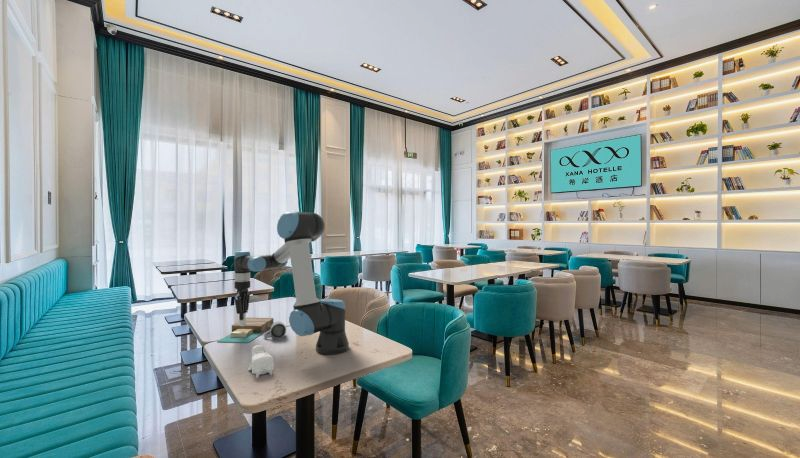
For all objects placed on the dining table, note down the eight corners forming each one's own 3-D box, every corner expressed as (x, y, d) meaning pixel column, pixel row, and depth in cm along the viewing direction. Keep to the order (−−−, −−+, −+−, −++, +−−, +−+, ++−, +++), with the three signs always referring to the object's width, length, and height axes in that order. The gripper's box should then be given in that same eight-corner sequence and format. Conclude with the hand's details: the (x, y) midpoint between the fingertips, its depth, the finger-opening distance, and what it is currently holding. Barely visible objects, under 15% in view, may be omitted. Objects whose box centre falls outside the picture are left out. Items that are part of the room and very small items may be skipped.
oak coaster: (245, 337, 178) (245, 333, 178) (230, 337, 179) (230, 333, 179) (253, 332, 186) (253, 328, 186) (238, 332, 187) (238, 328, 187)
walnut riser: (260, 333, 186) (260, 326, 186) (231, 332, 187) (231, 325, 187) (273, 324, 202) (273, 318, 202) (246, 324, 203) (246, 317, 203)
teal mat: (248, 343, 171) (248, 342, 171) (217, 342, 172) (217, 341, 172) (262, 333, 186) (262, 332, 186) (233, 333, 187) (233, 332, 187)
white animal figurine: (274, 380, 137) (266, 355, 149) (276, 363, 134) (268, 338, 146) (251, 385, 132) (244, 359, 144) (253, 368, 130) (246, 342, 141)
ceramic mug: (285, 333, 186) (284, 319, 186) (286, 337, 179) (286, 323, 179) (263, 336, 182) (263, 321, 182) (264, 340, 175) (263, 325, 175)
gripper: (242, 278, 189) (242, 322, 189) (228, 282, 176) (228, 329, 176) (255, 278, 189) (255, 322, 189) (243, 282, 176) (243, 329, 176)
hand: (242, 325), depth 183 cm, fingers closed
